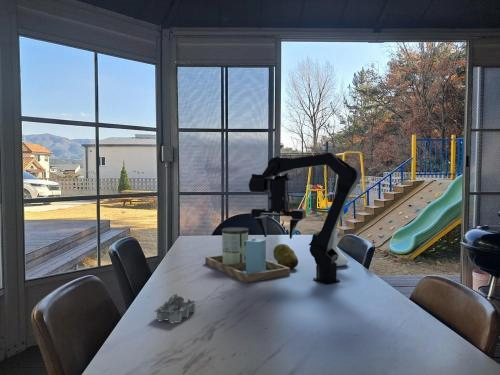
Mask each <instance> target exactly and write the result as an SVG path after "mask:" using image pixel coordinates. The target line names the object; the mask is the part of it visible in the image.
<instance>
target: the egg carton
mask: <svg viewBox="0 0 500 375" xmlns="http://www.w3.org/2000/svg"><path fill="white" fill-rule="evenodd" d="M197 302H198V300H194V299H192V300H190V299H187V301H185V298H184V297H183V296H179V295H178V294H177V293H175V294H173V295H171V296H170V297H169V299H168V300H167V301H165V302H164V303H163V304H162V305H160V306H159V307H158V308H157V309H156V310H154V313H156V319H157V318H158V319H157V321H158V320H165V319H168V320H169V321H168V322H175V321H181V320H182V321H183V318H182V317H187V316H189V317H190V313H189V312H193V313H192V314H194V312H195V313H196V303H197ZM177 307H182V308H179V310H178V308H177ZM187 318H188V317H187Z"/></svg>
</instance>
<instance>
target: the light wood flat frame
mask: <svg viewBox="0 0 500 375" xmlns="http://www.w3.org/2000/svg"><path fill="white" fill-rule="evenodd" d="M204 260H205V265H208V266H210V267H212V268H214V269H215V270H217V271H221V272H223V273H224V274H226V275H228V276H231V277H232V278H234V279H237V280H239V281H241V282H243V283H246V284H248V282H249V283H253V281H254V282H259V280H260V281H264V280H269V279H270V278H271V279H275V278H276V279H277V278H281V277H289V276H291V269H290V268H288V267H286V266H283V265H280V264H278V263H277V262H274V261H271V260H269V259H266V269H269V270H266V271H264V272H258V273H252V274H246V272H243V270H244V271H246V262H242V263H235V264H228V265H225V264H223V254H220V255H213V256H206V257H205V258H204Z"/></svg>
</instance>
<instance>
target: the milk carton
mask: <svg viewBox="0 0 500 375" xmlns="http://www.w3.org/2000/svg"><path fill="white" fill-rule="evenodd" d="M266 260H267V239H266V238H264V239H263V238H256V237H251V238H250V239H249V238H248V240H247V241H246V269H245V274H252V273H258V272H264V271H267V267H266Z"/></svg>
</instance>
